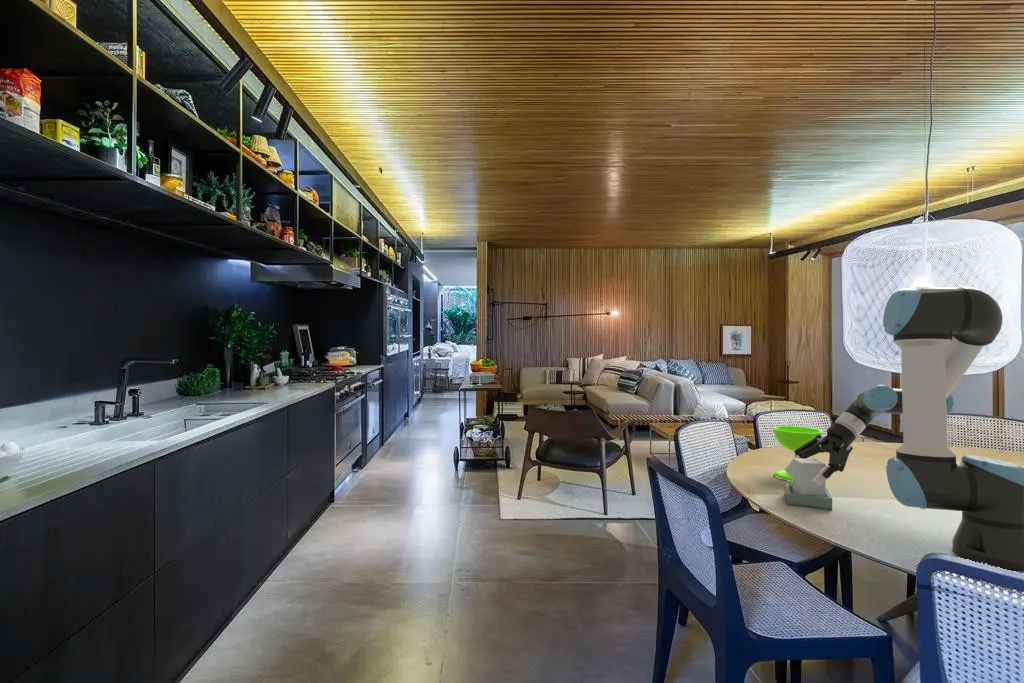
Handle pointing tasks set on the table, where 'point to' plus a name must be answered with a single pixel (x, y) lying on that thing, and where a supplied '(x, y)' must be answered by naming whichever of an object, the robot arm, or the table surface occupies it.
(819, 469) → the supplement box
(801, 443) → the wineglass
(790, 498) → the holder
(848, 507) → the table surface
